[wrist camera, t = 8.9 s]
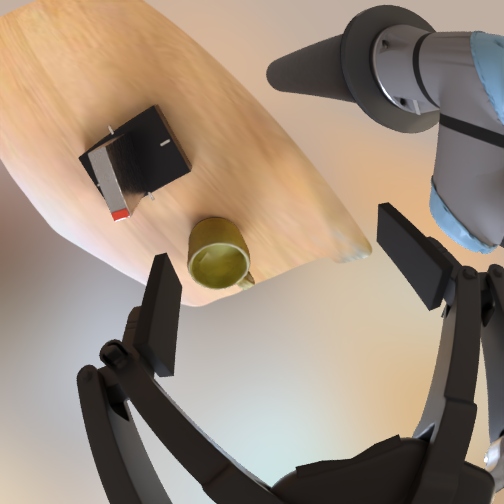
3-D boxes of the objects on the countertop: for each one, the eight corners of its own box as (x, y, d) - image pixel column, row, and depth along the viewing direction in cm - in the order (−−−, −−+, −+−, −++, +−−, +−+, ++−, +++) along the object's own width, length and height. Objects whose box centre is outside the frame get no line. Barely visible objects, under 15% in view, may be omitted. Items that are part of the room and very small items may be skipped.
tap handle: (114, 137, 32) (86, 154, 25) (128, 131, 32) (103, 146, 25) (133, 193, 37) (113, 222, 30) (147, 188, 37) (130, 217, 30)
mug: (165, 238, 43) (181, 274, 36) (214, 198, 44) (241, 226, 36) (205, 278, 51) (226, 314, 44) (247, 244, 52) (275, 274, 45)
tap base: (154, 98, 32) (150, 98, 30) (195, 172, 39) (194, 178, 37) (81, 148, 34) (74, 152, 32) (123, 212, 41) (118, 220, 39)
